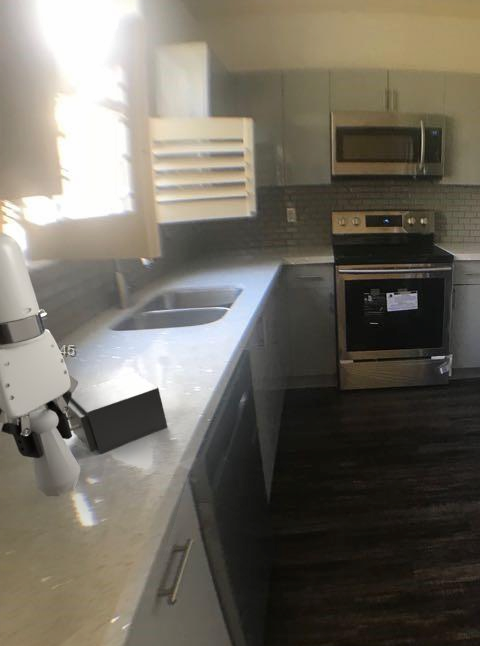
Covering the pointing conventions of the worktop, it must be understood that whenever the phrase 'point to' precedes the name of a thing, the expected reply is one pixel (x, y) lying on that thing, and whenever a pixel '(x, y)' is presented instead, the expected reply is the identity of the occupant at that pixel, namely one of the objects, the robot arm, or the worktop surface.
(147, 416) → the dark grey box
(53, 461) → the salt shaker
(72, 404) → the drawer
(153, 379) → the worktop surface
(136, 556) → the worktop surface
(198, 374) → the worktop surface
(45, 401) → the robot arm
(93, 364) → the worktop surface
